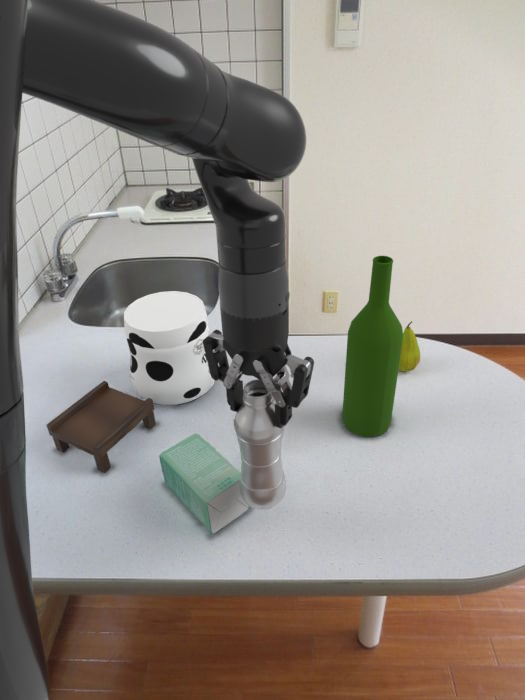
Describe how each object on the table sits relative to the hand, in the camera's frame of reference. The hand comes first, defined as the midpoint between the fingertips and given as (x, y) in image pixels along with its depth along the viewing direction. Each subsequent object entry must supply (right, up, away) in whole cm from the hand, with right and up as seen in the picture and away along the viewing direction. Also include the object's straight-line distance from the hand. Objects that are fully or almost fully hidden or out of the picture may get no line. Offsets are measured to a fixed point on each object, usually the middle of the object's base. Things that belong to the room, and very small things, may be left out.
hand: (259, 415), depth 66 cm
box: (-9, -15, +18) cm, 25 cm away
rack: (-28, -8, +30) cm, 42 cm away
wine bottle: (+20, -5, +31) cm, 37 cm away
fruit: (+30, +4, +44) cm, 53 cm away
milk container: (-17, +1, +42) cm, 45 cm away
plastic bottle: (+1, -13, +9) cm, 16 cm away
